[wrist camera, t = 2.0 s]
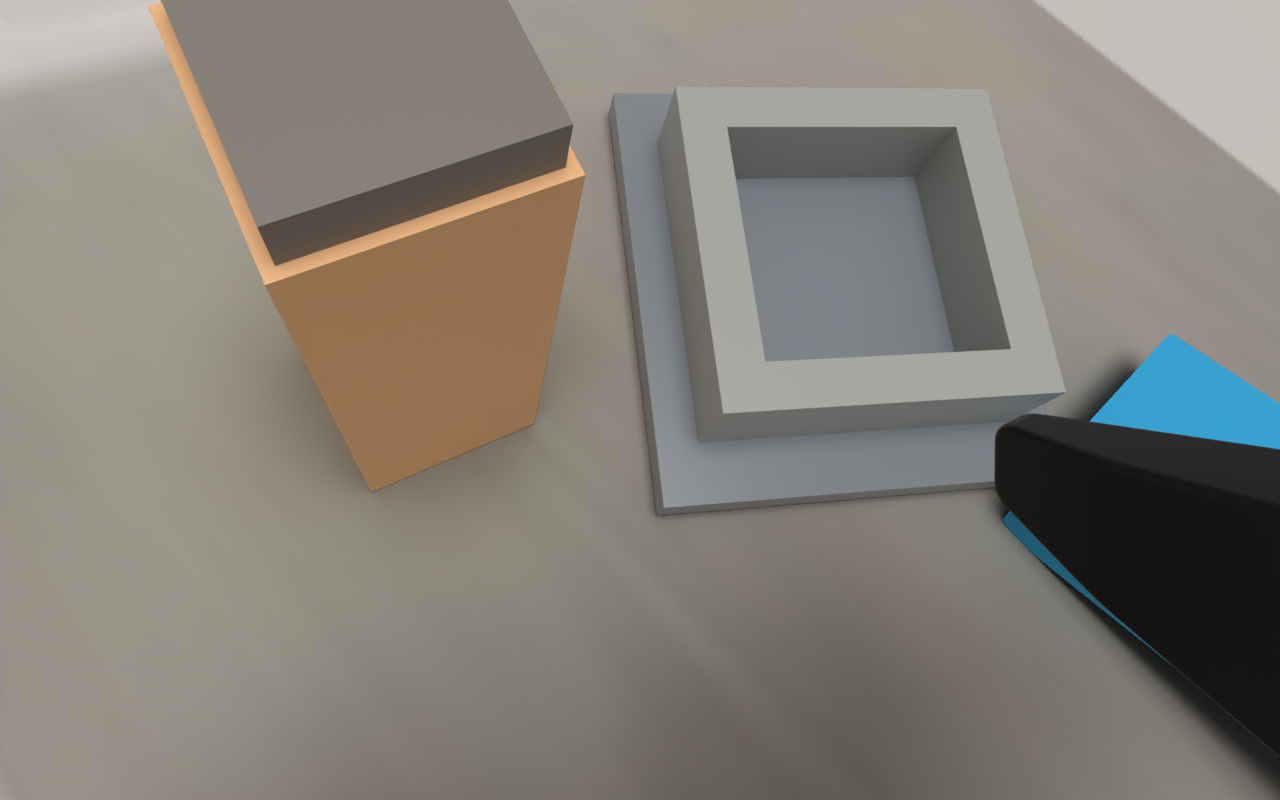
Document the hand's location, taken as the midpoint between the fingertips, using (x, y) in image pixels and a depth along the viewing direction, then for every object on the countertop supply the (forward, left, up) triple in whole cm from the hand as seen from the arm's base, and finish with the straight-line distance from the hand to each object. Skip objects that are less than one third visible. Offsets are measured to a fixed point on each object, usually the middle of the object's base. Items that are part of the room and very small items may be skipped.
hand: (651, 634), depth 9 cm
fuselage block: (+6, +6, -14) cm, 16 cm away
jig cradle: (+12, -3, -14) cm, 19 cm away
